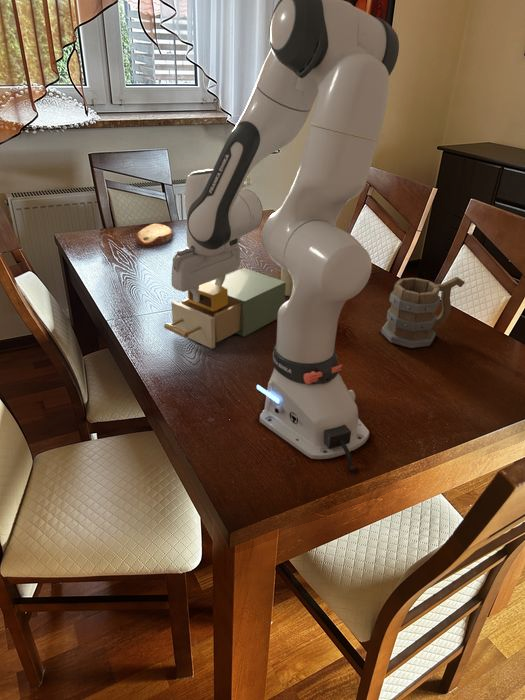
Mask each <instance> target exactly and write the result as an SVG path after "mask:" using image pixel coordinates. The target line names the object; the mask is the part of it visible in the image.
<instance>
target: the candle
mask: <svg viewBox="0 0 525 700" xmlns="http://www.w3.org/2000/svg"><path fill="white" fill-rule="evenodd" d="M280 280H281V281H284V282H286V287H285V297H291V294H292V290H293V281H292V277H291V275H290V274H289V273H287V272H286V271H285V270H283V269H282V268H281V267H280Z"/></svg>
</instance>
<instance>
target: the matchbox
mask: <svg viewBox="0 0 525 700" xmlns="http://www.w3.org/2000/svg"><path fill="white" fill-rule="evenodd" d="M198 292H199V293H201V294H202V301H200V302H195V301H194V300H193V294H192V293H191V291H190V290H187V298H188V302H191V303H193V304H196V305H198V306H201V307H203V308H206V309H208V310H211V311H215V310H217V309H220V308H222V307H224V306H226V305H228V289H227V288H224V287H221V286H218V285H215V284H213V283H210V282H206V283H204V284H202V285H199V289H198Z"/></svg>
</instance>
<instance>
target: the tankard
mask: <svg viewBox="0 0 525 700" xmlns="http://www.w3.org/2000/svg"><path fill="white" fill-rule="evenodd" d="M465 283H466V282H465V280H463V279H461V278H460V277H458V276H455V277H452V278H451V279H449V280H446V281H445V282H443V283H434V282H433V281H431V280H427V279H424V278H423V279H422V278H418V277H405V278H400V279H398V280H397V281H396V282H395V283H394V285H393V286H394V287H393V290H392V291H391V293H390V295H389V303H391V305H390V307H389V309H388V310H387V313H386V320H387V321H386V322H385V324H384V325H383V326H382V327H381V331H380V333H381V334H382V335H383V336H384V337H385V338H386V339H387V340H388V342H390V343H391V344H394V345H398V346H401V347H404V348H405V347H406V348H409V349H413V348H415V349H416V348H422V347H423V348H424V347H430V346H431V344H432V343H433V342H434V339H435V337H436V335H437V334H436V331H435V330H434V329H433V327H436V326H439V325H440V326H441V325H443V324H444V323H445V322H446V321H447V319H448V318H449V316H450V314H451V310H452V303H451V293H452V289H453V288H454V287H456V286H457V287H459V288H462V287H463V286H464V285H465ZM439 294H440V295H439ZM440 304H441V311H440V314H439V315H437V314H436V310H437V309H438V307H439V306H440Z"/></svg>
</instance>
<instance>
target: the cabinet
mask: <svg viewBox="0 0 525 700" xmlns="http://www.w3.org/2000/svg"><path fill="white" fill-rule="evenodd" d="M215 282H216V279H215V280H213V281H210V283H213V284H215ZM222 287H224V288H227V289H228V299H231V300H233V301H236V302H238V303H241V304H242V326H241V330H240V331H238V332H236V333H235V334H237V335H239V336H241V337H246V336H248V335H250V334H252V333H254V332H255V331H257V330H259V329H261V328H262V327H265V326H266V325H268V324H270V323H272V322H275V321H277V319H278V311H279V309H280V307H281V306H282V305H283V304H284V303H285V302H286V295H285V287H286V282H284V281H281V279H279V278H276V277H273V276H269V275H267V274H264V273H261V272H257V271H254V270H252V269H248V268H245V267H242V268H240V269H237V270H235V271H232V272H230V273H228V274H225V280H224V282H223V285H222Z"/></svg>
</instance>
